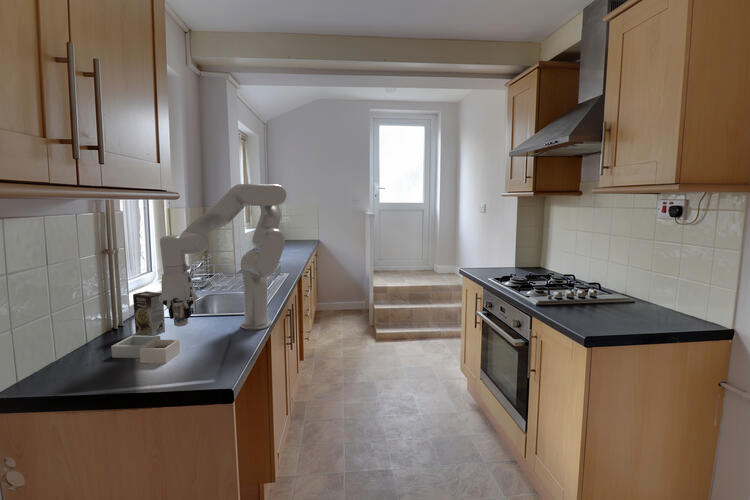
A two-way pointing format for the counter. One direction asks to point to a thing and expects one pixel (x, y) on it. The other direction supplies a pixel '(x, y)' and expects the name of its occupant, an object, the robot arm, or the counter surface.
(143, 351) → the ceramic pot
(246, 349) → the counter surface
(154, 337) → the grey tub
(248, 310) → the robot arm
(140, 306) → the coffee box
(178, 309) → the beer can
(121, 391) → the counter surface
